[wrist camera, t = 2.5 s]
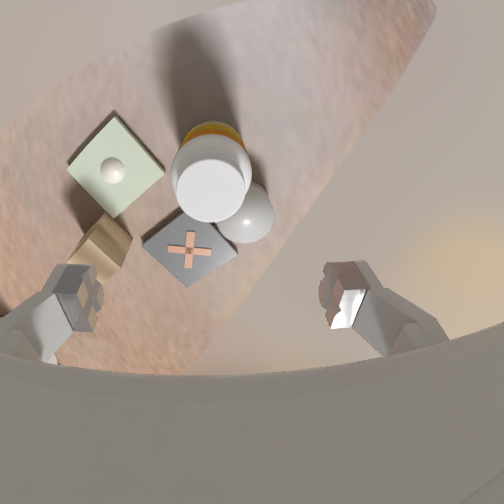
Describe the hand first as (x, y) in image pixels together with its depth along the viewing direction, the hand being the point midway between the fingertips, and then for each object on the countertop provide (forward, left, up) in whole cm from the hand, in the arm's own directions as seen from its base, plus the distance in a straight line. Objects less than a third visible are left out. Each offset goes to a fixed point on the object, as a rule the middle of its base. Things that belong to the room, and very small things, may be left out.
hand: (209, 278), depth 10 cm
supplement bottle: (0, 0, -17) cm, 17 cm away
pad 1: (-8, +4, -17) cm, 19 cm away
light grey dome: (-1, -6, -17) cm, 18 cm away
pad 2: (-8, -7, -17) cm, 20 cm away
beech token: (-14, 0, -17) cm, 22 cm away
